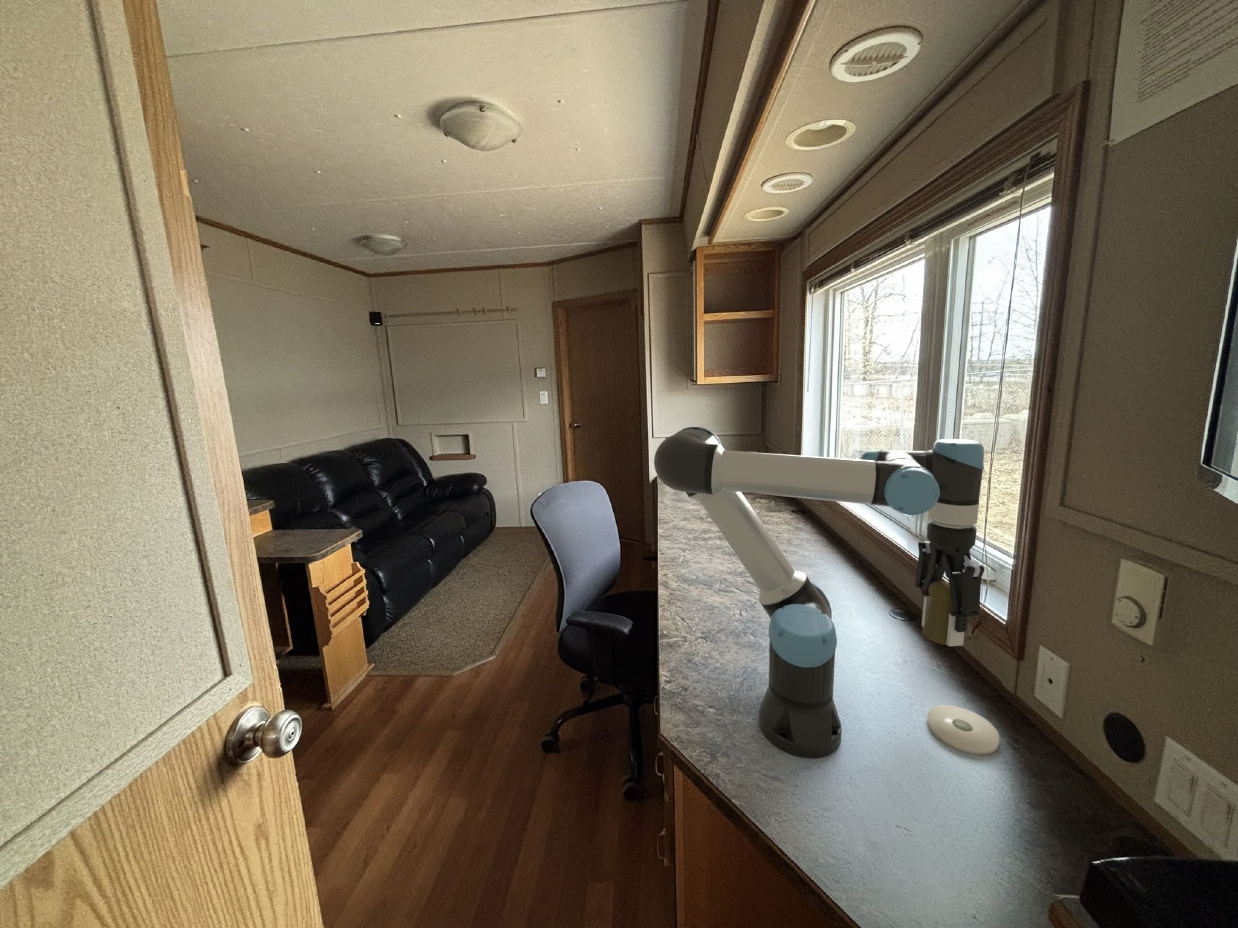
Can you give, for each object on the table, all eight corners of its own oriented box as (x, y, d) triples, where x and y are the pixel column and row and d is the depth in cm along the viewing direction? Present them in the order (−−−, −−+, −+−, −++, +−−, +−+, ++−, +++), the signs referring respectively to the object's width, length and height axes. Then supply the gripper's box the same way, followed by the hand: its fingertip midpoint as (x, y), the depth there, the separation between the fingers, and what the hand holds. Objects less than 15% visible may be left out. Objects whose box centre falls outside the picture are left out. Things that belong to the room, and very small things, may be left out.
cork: (923, 625, 96) (927, 574, 94) (959, 633, 93) (965, 581, 90) (921, 638, 91) (925, 586, 89) (959, 648, 88) (965, 594, 86)
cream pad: (953, 756, 84) (954, 749, 84) (914, 712, 95) (915, 706, 94) (1014, 753, 84) (1015, 746, 84) (968, 710, 95) (969, 703, 95)
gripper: (1016, 538, 78) (1001, 662, 83) (934, 506, 97) (925, 609, 101) (973, 541, 78) (961, 666, 82) (899, 509, 97) (892, 612, 101)
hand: (941, 634), depth 92 cm, fingers closed on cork, 6 cm apart
